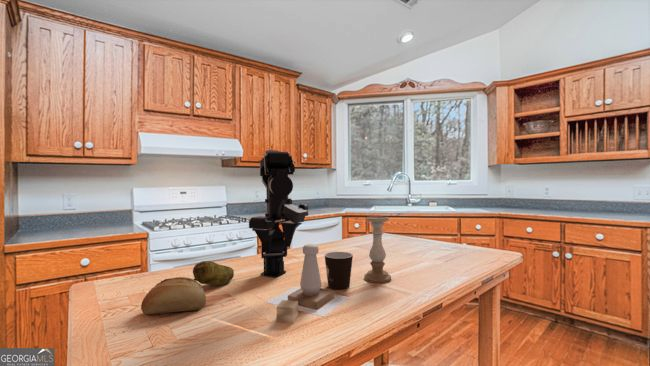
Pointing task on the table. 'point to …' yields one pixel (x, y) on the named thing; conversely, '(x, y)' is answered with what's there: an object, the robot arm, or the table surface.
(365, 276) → the candle holder
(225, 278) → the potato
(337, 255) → the coffee mug
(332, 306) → the white flat rectangular panel
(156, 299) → the bread roll
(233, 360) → the table surface
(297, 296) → the walnut base block
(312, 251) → the salt shaker
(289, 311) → the maple block
